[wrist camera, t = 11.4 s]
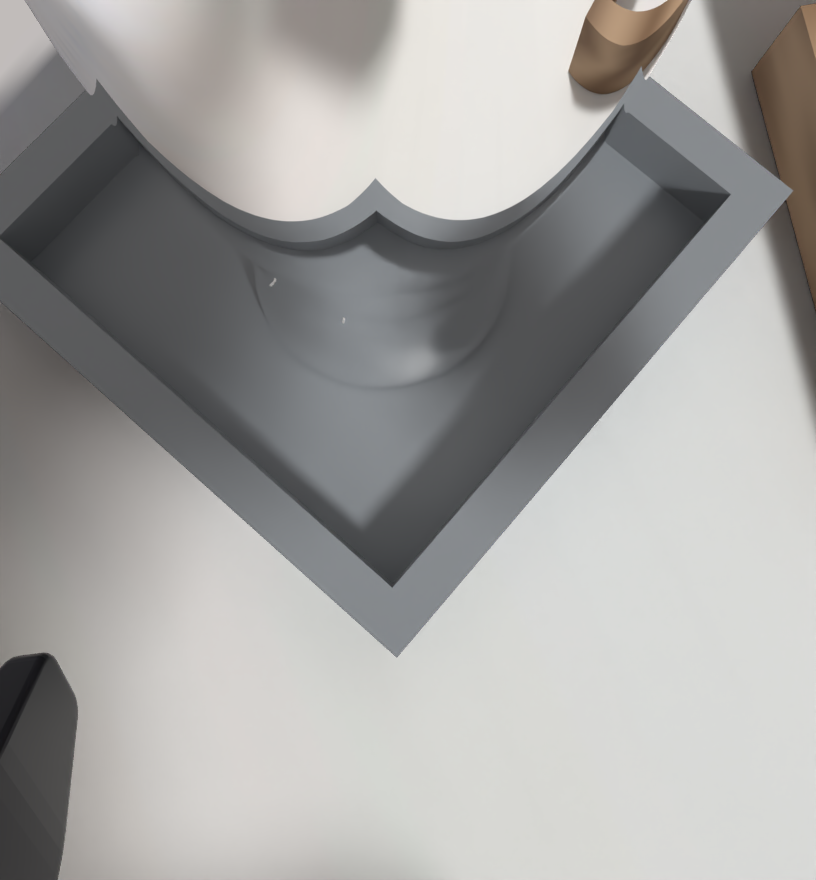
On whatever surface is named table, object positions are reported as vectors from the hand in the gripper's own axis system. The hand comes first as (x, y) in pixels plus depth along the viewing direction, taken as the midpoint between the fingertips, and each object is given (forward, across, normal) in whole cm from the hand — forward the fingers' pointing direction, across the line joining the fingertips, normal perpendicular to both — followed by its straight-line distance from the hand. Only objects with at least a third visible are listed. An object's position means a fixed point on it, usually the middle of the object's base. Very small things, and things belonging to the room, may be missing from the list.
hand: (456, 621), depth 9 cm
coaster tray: (+13, 0, +1) cm, 13 cm away
